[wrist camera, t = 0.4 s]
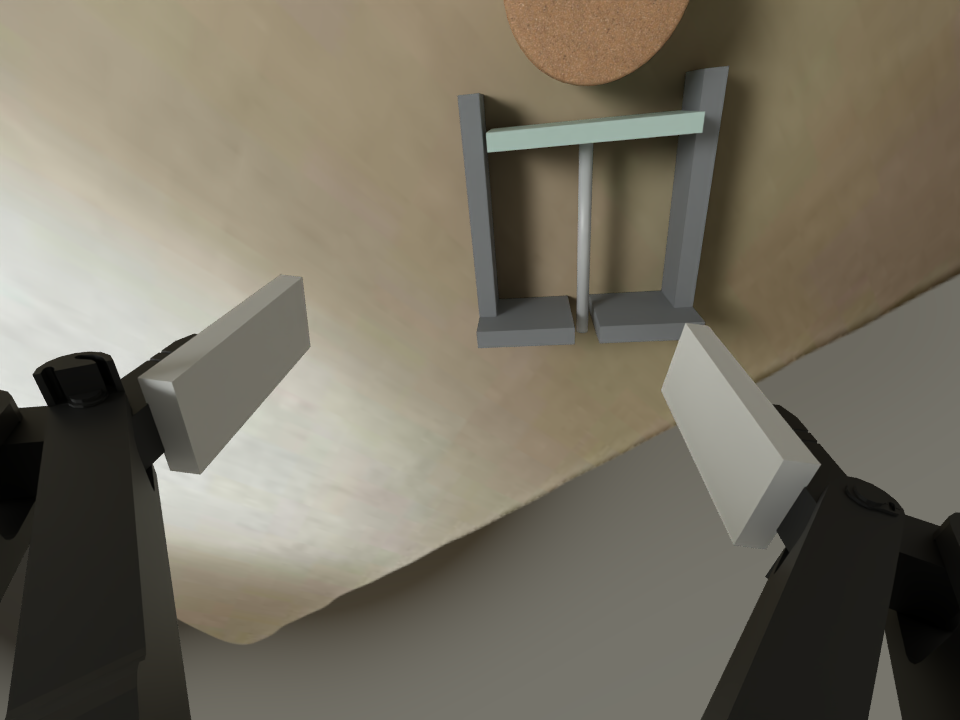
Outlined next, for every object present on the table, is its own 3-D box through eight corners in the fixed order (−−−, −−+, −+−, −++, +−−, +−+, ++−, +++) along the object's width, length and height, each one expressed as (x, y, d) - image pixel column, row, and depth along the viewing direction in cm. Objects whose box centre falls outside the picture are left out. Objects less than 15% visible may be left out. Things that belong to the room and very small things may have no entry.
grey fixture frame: (464, 96, 35) (451, 94, 29) (707, 69, 33) (749, 62, 27) (484, 314, 44) (478, 348, 38) (676, 304, 42) (702, 339, 36)
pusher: (491, 128, 35) (485, 133, 30) (677, 110, 34) (705, 111, 28) (505, 320, 43) (502, 350, 38) (655, 313, 42) (673, 343, 37)
